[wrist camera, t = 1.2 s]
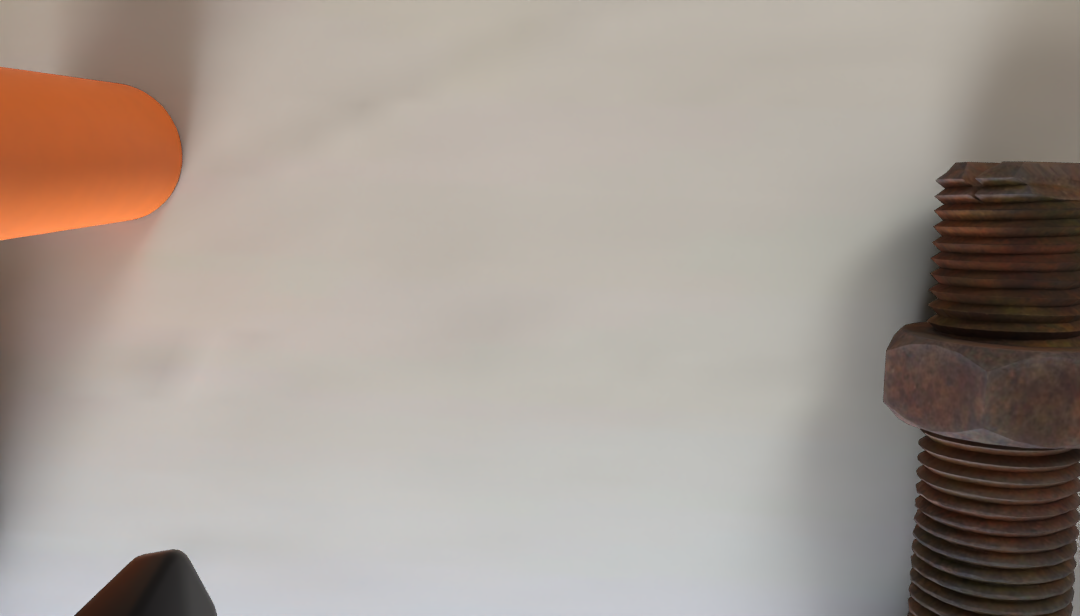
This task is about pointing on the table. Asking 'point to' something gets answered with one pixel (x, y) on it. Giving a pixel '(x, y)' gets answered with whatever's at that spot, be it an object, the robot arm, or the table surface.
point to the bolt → (996, 395)
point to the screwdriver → (80, 153)
